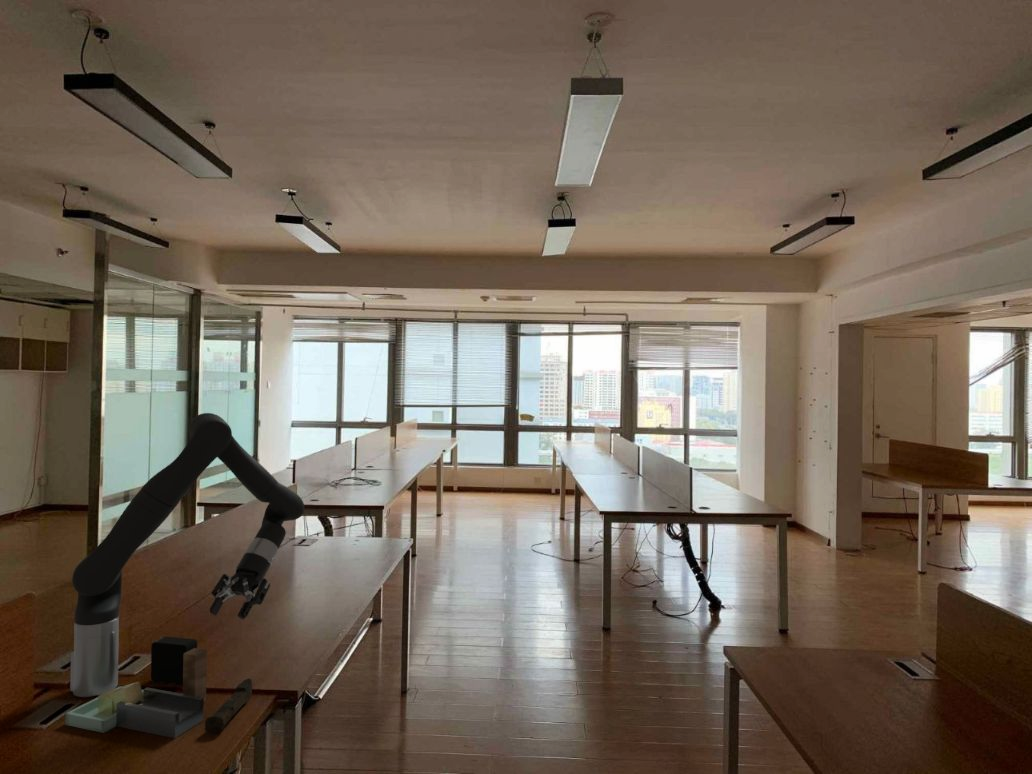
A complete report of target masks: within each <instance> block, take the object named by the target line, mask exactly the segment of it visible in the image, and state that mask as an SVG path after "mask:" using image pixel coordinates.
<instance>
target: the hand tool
mask: <svg viewBox="0 0 1032 774" xmlns="http://www.w3.org/2000/svg"><path fill="white" fill-rule="evenodd" d="M252 681H253V680H252V679H251V678H246V679H244V680H243V681H242V682H240V683H238V684H237V686H236V687H235V692H234V693H233V694H232V695H231V696H230V697H229V698H228V699H227V700H226V701H225V702H224V703H223V704H222V705H221V706H220V707H219V708H218V709H217V710H216V711H215V712H214V713H213V714H212V715H211V716H208V717H206V719H205V721H204V727H205V728H204V730H205V732H206V734H214V735H216V734H220V733H222V731H223V730H224V729H225V727H226V725H227V723H229V721H230V720H231V719H232V717H233V716H235V715H236V714H237V712H238V711H239V710H240V709H241V708H242V707H243V706H244V705H245V706H246V705H248V703H249V701H250V699H251V697H252V694H253V682H252Z"/></svg>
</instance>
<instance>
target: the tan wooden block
mask: <svg viewBox="0 0 1032 774" xmlns="http://www.w3.org/2000/svg"><path fill="white" fill-rule="evenodd" d="M207 653H208V650H207V649H205V648H204V649H203V648H198V647H197V648H194V649H192V650H190V651H188V652H186V653H184V654H183V685H182V692H181V693H180V694H186V695H191V696H197V697H202V698H204V702H206V700H207V667H208V666H207V664H208V663H207V660H208V659H207V657H208V656H207V655H208V654H207Z"/></svg>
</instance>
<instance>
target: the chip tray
mask: <svg viewBox="0 0 1032 774" xmlns="http://www.w3.org/2000/svg"><path fill="white" fill-rule="evenodd" d="M124 686H125V685H120V686H117V687H116V688H115V689H120V688H122V687H124ZM142 693H143V689H142ZM64 715H65V716H64V717H65V722H64V723H65V726H70V727H75V728H79V729H83V730H88V731H93V732H97V733H103V734H105V733H106V732H108V731H110V730H113V729H114V728H116V727H117V726H116V713H115V714H113V715H111V716H107V715H102V714H98V697H96V698H94V699H92V700H89V701H88V702H86V703H84V704H82V705H79V706H78V707H76V708H74V709H71V710H70V711H67V712H66V713H65V714H64Z"/></svg>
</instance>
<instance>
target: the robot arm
mask: <svg viewBox="0 0 1032 774" xmlns="http://www.w3.org/2000/svg"><path fill="white" fill-rule="evenodd" d="M188 434H189V438H190V439H189V441H188V442H187V444H186V446H185V447H184V448H183V449H182V451H181V452H180V453H179V454H178V456H177V457H175V458H174V460H173V461H172V462H171V463H169V464H168V465H166V467H164V468H162V469H161V470H159V471H158V472H157V473H155V474H154V475H153V476H152V477H151V478H149V480H147V481H146V482H145V484H143V485H142V487H141V488H140V489H139V491H137V493H136V495H135V496H133V498H132V500H130V502H129V503H128V505H127V506H126V507H125V509H124V510H123V512H122V513H121V515H120V516H119V518H118V519H117V521H115V524H114V525H113V527H112V528H111V530H110V532H109V533H108V534H107V535H106V537H105V538H104V539H103V540H102V541H101V542H100V543H99V545H98V546H96V547H95V549H93V551H92V552H90V554H88V555H87V556H85V558H83V559H82V560H81V561H80V562H79V563H78V564H77V565H76V567H75V568H74V570H73V573H72V578H71V579H72V580H71V582H72V587H73V589H74V590H75V592H76V593H78V595H77V604H76V607H75V610H74V628H73V629H74V630H73V631H74V632H73V635H74V636H73V637H74V639H73V651H71V653H70V687H69V689H70V692H72V693H73V696H75V697H80V698H89V697H95V696H97V697H98V696H99V695H101V694H103V693H105V692H107V691H109V690H111V689H113V688H115V689H116V688H118V685H119V637H120V636H119V632H120V630H119V629H120V626H119V625H120V623H119V622H120V621H119V620H120V606H121V601H122V583H123V581H122V580H123V569H124V567H125V565H126V564H127V562H128V561H129V560H130V558H131V557H132V555H134V553H136V551H137V550H138V548H139V547H140V546H142V545H143V543H145V542H146V541H147V539H149V538H150V537H151V536H152V534H154V532H155V531H157V529H158V528H159V527H161V525H162V524H163V523H164V522H165V521H166V520H167V518H168V517H169V516H170V515H171V514H172V512H173V511H174V509H176V508H177V505H179V503H180V502H181V500H182V499H183V498H184V496H186V494H187V493H188V491H189V490H190V489H191V487H192V486H194V484H195V482H196V481H197V480H198V478H199V477H200V476H201V475H202V474H203V472H204V471H205V470H206V469H207V468H208V467H209V466H210V465H211V464H212V463H213V461H215V460H216V459H218V460H220V461H221V463H223V464H224V465H225V466H226V467H227V468H228V469H229V471H231V473H232V474H233V475H234V477H236V479H237V480H238V481H239V482H240V483H241V484H242V485H243V486H244V487H245V489H246V490H247V491H248V492H249V493H251V495H253V496H254V498H256V499H257V501H260V502H261V503H267V505H266V508H265V511H264V514H263V517H262V520H261V526H260V528H259V529H258V532H257V533H256V535H255V537H254V538H253V540H252V541H251V542H250V544H249V545H248V547H247V548H246V551H245V552H244V553H243V556H242V557H241V559H240V560H239V563H238V564H237V566H236V570H235V573H234V574H233V575H232V576H230V575H229V576H228V575H227V574H226V573H224V574H222V576H221V577H220V579H219V580H218V582H217V584H215V586H214V588H213V589H212V591H211V595H212V596H213V597H214V598H215V599H214V601H213V603H212V604H211V606H210V608H209V613H210V614H211V615H212V616H217V615H218V613H219V611H220V610H221V608H222V606H223V604H224V602H225V601H226V600H228V599H229V598H233V596H243V597H245V600H246V601H244V602H243V604H242V606H241V608H240V610H239V612H238V613H237V617H238V618H239V619H240V620H245V619H246V618H247V616H248V615H249V613H250V611H251V610H252V608H253V606H255V605H259V606H261V604H262V603H263V602H264V600H265V597H266V596H267V593H268V591H269V589H270V587H271V583H270V582H269V581H268V580H267V579H266V578H265V577H266V575H267V573H268V572H269V570H270V568H271V566H272V564H273V562H274V560H275V558H276V556H277V553H278V551H279V548H280V547H281V545H282V543H283V541H284V539H285V537H286V533H287V531H286V529H285V527H284V526H283V524H284V523H285V522H288V521H295V520H298V519H299V518H301V517H302V516H303V515H304V512H305V503H304V501H303V500H302V498H301V497H300V495H298V494H297V492H295V491H293V490H292V489H290V488H288V487H287V486H285V485H283V484H282V483H280V482H278V480H277V479H276V477H274V476H273V475H272V474H271V473H270V472H269V471H268V470H267V469H266V468H265V467H264V465H262V464H261V463H259V462H258V461H257V459H255V458H254V457H253V456H252V455H250V453H249V452H248V451H246V449H245V448H243V446H242V445H240V443H239V442H238V441H237V440H236V439H235V437H234V436H233V432H232V428H231V426H230V425H229V423H228V422H226V420H224V419H223V418H222V417H221V416H220V415H217V414H215V413H213V412H211V413H210V412H204V413H200V414H198V415H196V416H195V417H194V418H192V420H191V421H190V423H189V425H188ZM256 589H257V590H256ZM255 590H256V592H255Z"/></svg>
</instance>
